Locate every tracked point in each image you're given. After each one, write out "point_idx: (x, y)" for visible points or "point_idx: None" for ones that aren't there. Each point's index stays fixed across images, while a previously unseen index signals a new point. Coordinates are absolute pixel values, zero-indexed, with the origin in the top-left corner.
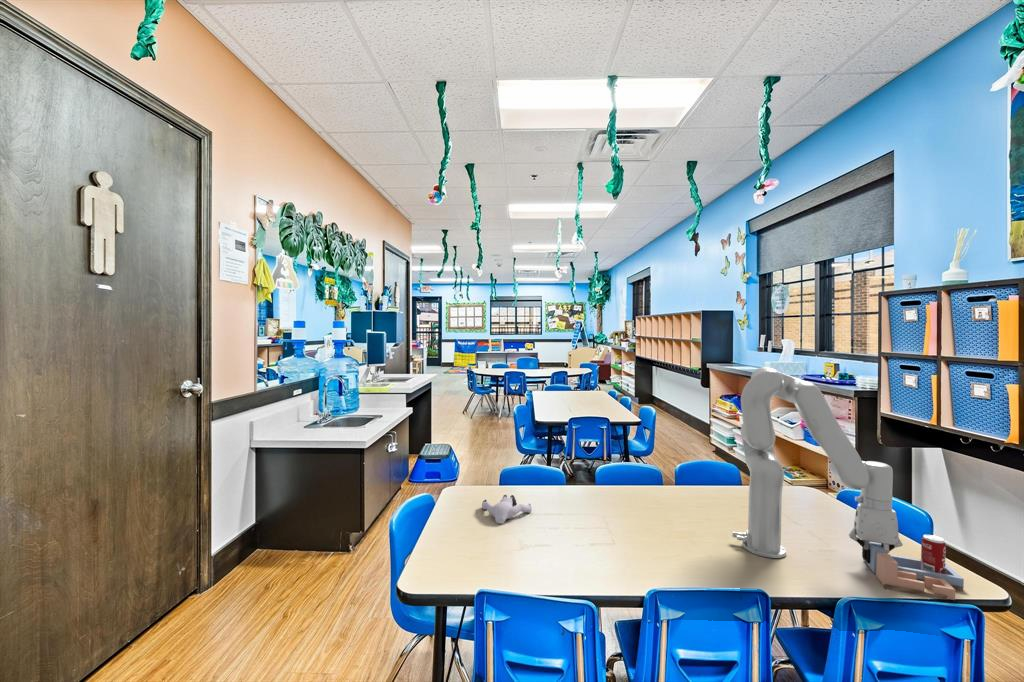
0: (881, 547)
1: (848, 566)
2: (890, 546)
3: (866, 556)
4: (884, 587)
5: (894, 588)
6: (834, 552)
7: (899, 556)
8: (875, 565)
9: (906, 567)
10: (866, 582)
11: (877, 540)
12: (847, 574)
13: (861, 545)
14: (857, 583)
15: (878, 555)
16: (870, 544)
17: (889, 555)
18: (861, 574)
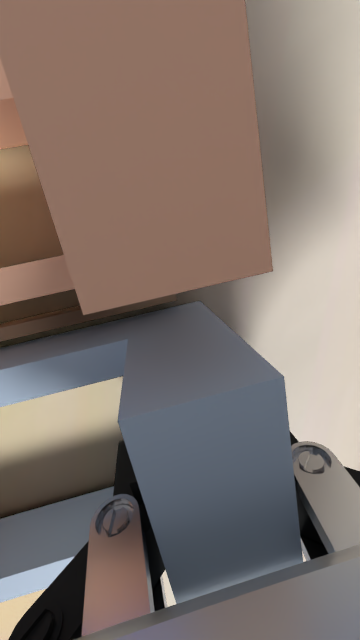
0: (177, 524)
1: (320, 318)
2: (63, 625)
3: None
4: None
5: None
6: (350, 463)
7: (35, 586)
8: (204, 315)
9: (18, 515)
10: (261, 102)
11: (293, 632)
12: (353, 174)
13: (357, 474)
14: (323, 33)
15: (252, 191)
16: (294, 527)
17: (85, 250)
18: (270, 237)
